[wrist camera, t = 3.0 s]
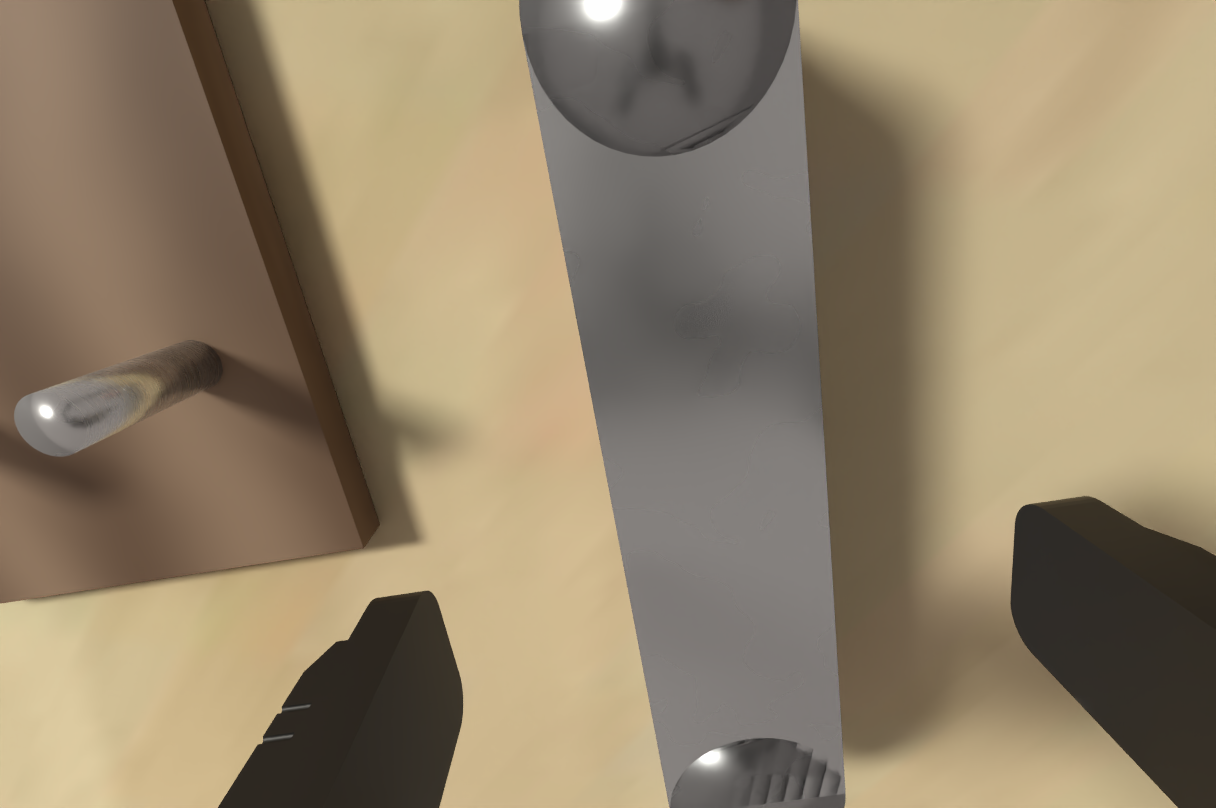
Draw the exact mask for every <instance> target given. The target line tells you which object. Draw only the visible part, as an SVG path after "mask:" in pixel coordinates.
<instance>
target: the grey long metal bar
mask: <svg viewBox="0 0 1216 808" xmlns="http://www.w3.org/2000/svg"><path fill="white" fill-rule="evenodd" d="M519 9H520V21H521V28H522V35H523V41H524V46H525V51H526V56H527V62H528V67H529V72H530V77H531V83H532V88H533V93H534V98H535V104H536V109H537V114H538V119H539V125H540V130H541V135H542V140H543V146H544V151H545V156H546V161H547V167H548V172H549V177H550V182H551V188H552V193H553V198H554V203H555V209H556V214H557V219H558V224H559V230H560V235H561V240H562V245H563V251H564V256H565V261H566V266H567V272H568V277H569V282H570V287H571V293H572V298H573V303H574V308H575V314H576V319H577V324H578V329H579V335H580V340H581V345H582V350H583V356H584V361H585V366H586V371H587V377H588V382H589V387H590V392H591V398H592V403H593V408H594V413H595V419H596V424H597V429H598V434H599V440H600V445H601V450H602V455H603V461H604V466H605V471H606V476H607V482H608V487H609V492H610V497H611V503H612V508H613V513H614V518H615V524H616V529H617V534H618V539H619V545H620V550H621V555H622V560H623V566H624V571H625V576H626V581H627V587H628V592H629V597H630V602H631V608H632V613H633V618H634V623H635V629H636V634H637V639H638V644H639V650H640V655H641V660H642V665H643V671H644V676H645V681H646V686H647V692H648V697H649V702H650V707H651V713H652V718H653V723H654V728H655V734H656V739H657V744H658V749H659V755H660V760H661V765H662V770H663V776H664V781H665V786H666V791H667V797H668V802H669V807H670V808H844V806H845V778H844V761H843V744H842V728H841V711H840V694H839V678H838V661H837V644H836V628H835V611H834V594H833V578H832V561H831V544H830V528H829V511H828V495H827V478H826V461H825V445H824V428H823V411H822V395H821V378H820V361H819V345H818V328H817V311H816V295H815V278H814V261H813V245H812V228H811V212H810V195H809V178H808V162H807V145H806V128H805V112H804V95H803V78H802V62H801V45H800V28H799V12H798V0H519Z"/></svg>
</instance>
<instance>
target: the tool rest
mask: <svg viewBox="0 0 1216 808" xmlns="http://www.w3.org/2000/svg"><path fill="white" fill-rule="evenodd" d="M379 525H380V524H379V521H378V518H377V515H376V512H375V509H374V506H373V503H372V500H371V497H370V494H369V491H368V488H367V485H366V482H365V479H364V476H363V473H362V470H361V467H360V464H359V461H358V458H357V455H356V452H355V449H354V446H353V443H352V440H351V437H350V434H349V431H348V428H347V425H346V422H345V419H344V416H343V413H342V410H341V407H340V405H339V402H338V399H337V396H336V393H335V390H334V387H333V384H332V381H331V378H330V375H329V372H328V369H327V366H326V363H325V360H324V357H323V354H322V351H321V348H320V345H319V342H318V339H317V336H316V333H315V330H314V327H313V324H312V321H311V318H310V315H309V312H308V309H307V306H306V303H305V300H304V297H303V294H302V291H301V288H300V285H299V282H298V279H297V276H296V273H295V270H294V267H293V264H292V261H291V258H290V255H289V252H288V249H287V246H286V243H285V240H284V237H283V234H282V231H281V228H280V225H279V222H278V219H277V216H276V213H275V210H274V207H273V204H272V201H271V198H270V195H269V192H268V189H267V186H266V183H265V180H264V177H263V174H262V171H261V168H260V165H259V162H258V159H257V156H256V153H255V150H254V147H253V144H252V141H251V138H250V135H249V133H248V130H247V127H246V124H245V121H244V118H243V115H242V112H241V109H240V106H239V103H238V100H237V97H236V94H235V91H234V88H233V85H232V82H231V79H230V76H229V73H228V70H227V67H226V64H225V61H224V58H223V55H222V52H221V49H220V46H219V43H218V40H217V37H216V34H215V31H214V28H213V25H212V22H211V19H210V16H209V13H208V10H207V7H206V4H205V1H204V0H0V603H6V602H13V601H20V600H26V599H33V598H39V597H46V596H52V595H59V594H66V593H72V592H79V591H85V590H92V589H98V588H105V587H112V586H118V585H125V584H131V583H138V582H144V581H151V580H158V579H164V578H171V577H177V576H184V575H190V574H197V573H204V572H210V571H217V570H223V569H230V568H236V567H243V566H249V565H256V564H263V563H269V562H276V561H282V560H289V559H295V558H302V557H309V556H315V555H322V554H328V553H335V552H341V551H348V550H355V549H361V548H364V547H365V545H366V544H367V542H368V541H369V540H370V538H371V537H372V535H373V534H374V532H375V531H376V529H377V528H378V527H379Z"/></svg>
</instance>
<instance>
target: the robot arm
mask: <svg viewBox="0 0 1216 808" xmlns="http://www.w3.org/2000/svg"><path fill="white" fill-rule="evenodd" d="M1011 611H1012V616H1013V619H1014V623H1015V625H1016V628H1017V630H1018V633H1019V635H1020V637H1021V638H1022V640H1023V642H1024V643H1025V645H1026V646H1027V648H1028V649H1029V650H1030V651H1031V653H1032V654H1033V655H1034V656H1035V657H1036V658H1037V659H1038V660H1039V661H1040V662H1041V663H1042V664H1043V665H1044V666H1045V668H1046V669H1047V670H1048V671H1049V672H1050V673H1051V674H1052V675H1053V676H1054V677H1055V678H1056V679H1057V680H1058V681H1059V682H1060V683H1061V684H1062V685H1063V687H1064V688H1065V689H1066V690H1067V691H1068V692H1069V693H1070V694H1071V695H1072V696H1073V697H1074V698H1075V699H1076V700H1077V701H1078V702H1079V703H1080V704H1081V706H1082V707H1083V708H1084V709H1085V710H1086V711H1087V712H1088V713H1089V714H1090V715H1091V716H1092V717H1093V718H1094V719H1095V720H1096V721H1097V722H1098V723H1099V724H1100V726H1101V727H1102V728H1103V729H1104V730H1105V731H1106V732H1107V733H1108V734H1109V735H1110V736H1111V737H1112V738H1113V739H1114V740H1115V741H1116V742H1117V743H1118V745H1119V746H1120V747H1121V748H1122V749H1123V750H1124V751H1125V752H1126V753H1127V754H1128V755H1129V756H1130V757H1131V758H1132V759H1133V760H1134V761H1135V762H1136V764H1137V765H1138V766H1139V767H1140V768H1141V769H1142V770H1143V771H1144V772H1145V773H1146V774H1147V775H1148V776H1149V777H1150V778H1151V779H1152V780H1153V781H1154V783H1155V784H1156V785H1157V786H1158V787H1159V788H1160V789H1161V790H1162V791H1163V792H1164V793H1165V794H1166V795H1167V796H1168V797H1169V798H1170V799H1171V800H1172V802H1173V803H1174V804H1175V805H1176V806H1177V807H1178V808H1216V556H1214V555H1213V554H1211V553H1209V552H1208V551H1206V550H1204V549H1202V548H1201V547H1198V546H1195V545H1192V544H1190V543H1187V542H1184V541H1181V540H1178V539H1176V538H1173V537H1170V536H1167V535H1165V534H1162V533H1159V532H1156V531H1153V530H1151V529H1148V528H1144V527H1143V526H1141V525H1139V524H1138V523H1136V522H1134V521H1133V520H1131V519H1130V518H1128V517H1126V516H1125V515H1123V514H1121V513H1120V512H1118V511H1116V510H1115V509H1113V508H1111V507H1110V506H1108V505H1106V504H1105V503H1103V502H1101V501H1100V500H1098V499H1096V498H1093V497H1088V496H1083V497H1076V498H1069V499H1062V500H1056V501H1049V502H1042V503H1035V504H1029V505H1025V506H1023V507H1022V508H1021V509H1020V510H1019V512H1018V513H1017V516H1016V521H1015V534H1014V551H1013V568H1012V586H1011ZM462 715H463V691H462V683H461V678H460V675H459V671H458V668H457V665H456V661H455V658H454V655H453V651H452V648H451V645H450V641H449V638H448V635H447V631H446V628H445V625H444V621H443V618H442V615H441V611H440V608H439V605H438V602H437V600H436V598H435V596H434V595H433V593H432V592H430V591H422V592H415V593H408V594H401V595H394V596H387V597H381V598H375V599H373V600H372V601H371V602H370V604H369V605H368V607H367V608H366V610H365V612H364V613H363V615H362V617H361V619H360V620H359V622H358V624H357V626H356V627H355V629H354V631H353V632H352V634H351V636H350V638H349V639H348V640H345V641H338V642H336V643H335V644H334V645H333V646H331V647H330V648H329V649H328V650H327V651H326V652H325V653H324V654H323V655H322V656H321V657H320V658H319V659H317V660H316V661H315V662H314V663H313V664H312V665H311V666H310V667H309V668H308V669H307V670H306V671H305V672H304V673H303V674H302V676H301V677H300V679H299V680H298V682H297V684H296V685H295V687H294V688H293V690H292V692H291V693H290V695H289V696H288V698H287V699H286V701H285V703H284V704H283V706H282V713H280V714H277V715H276V717H275V718H274V720H273V721H272V723H271V725H270V726H269V728H268V729H267V731H266V733H265V734H264V736H263V743H262V744H259V745H257V747H256V748H255V750H254V751H253V753H252V755H251V756H250V758H249V759H248V761H247V763H246V764H245V766H244V767H243V769H242V770H241V772H240V774H239V775H238V777H237V778H236V780H235V781H234V783H233V785H232V786H231V788H230V789H229V791H228V793H227V794H226V796H225V797H224V799H223V800H222V802H221V804H220V805H219V807H218V808H439V806H440V802H441V799H442V795H443V791H444V787H445V784H446V780H447V776H448V773H449V769H450V765H451V761H452V758H453V754H454V750H455V747H456V743H457V739H458V735H459V732H460V728H461V723H462Z"/></svg>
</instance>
